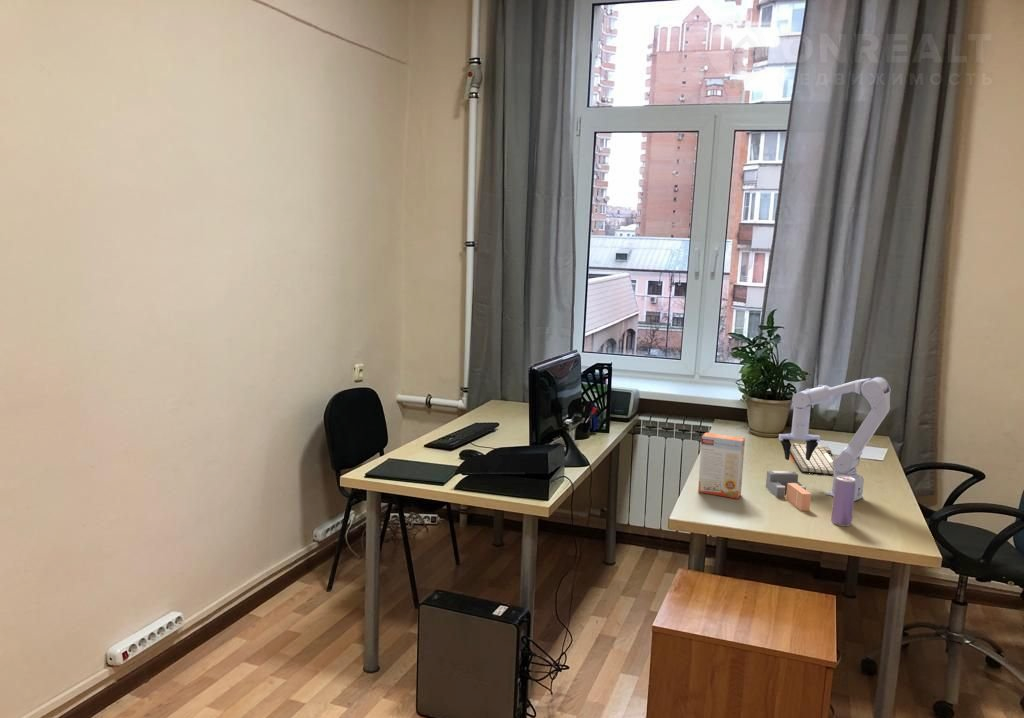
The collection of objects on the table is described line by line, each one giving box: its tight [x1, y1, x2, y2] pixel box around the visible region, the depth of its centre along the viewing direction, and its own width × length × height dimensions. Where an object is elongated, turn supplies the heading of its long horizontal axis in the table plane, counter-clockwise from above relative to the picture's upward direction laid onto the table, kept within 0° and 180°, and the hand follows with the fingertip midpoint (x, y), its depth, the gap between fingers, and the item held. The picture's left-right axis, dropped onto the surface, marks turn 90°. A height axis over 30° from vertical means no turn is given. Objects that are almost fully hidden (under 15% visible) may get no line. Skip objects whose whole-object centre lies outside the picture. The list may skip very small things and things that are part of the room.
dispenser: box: [765, 470, 807, 499], centre depth 266 cm, size 11×10×6 cm
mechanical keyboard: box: [789, 442, 834, 476], centre depth 306 cm, size 38×19×3 cm, turn 170°
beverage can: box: [830, 475, 856, 527], centre depth 238 cm, size 6×6×15 cm
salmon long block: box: [785, 483, 812, 512], centre depth 254 cm, size 11×3×6 cm, turn 6°
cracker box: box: [697, 432, 746, 499], centre depth 262 cm, size 14×6×21 cm, turn 63°
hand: (797, 459), depth 275 cm, fingers open, 7 cm apart
